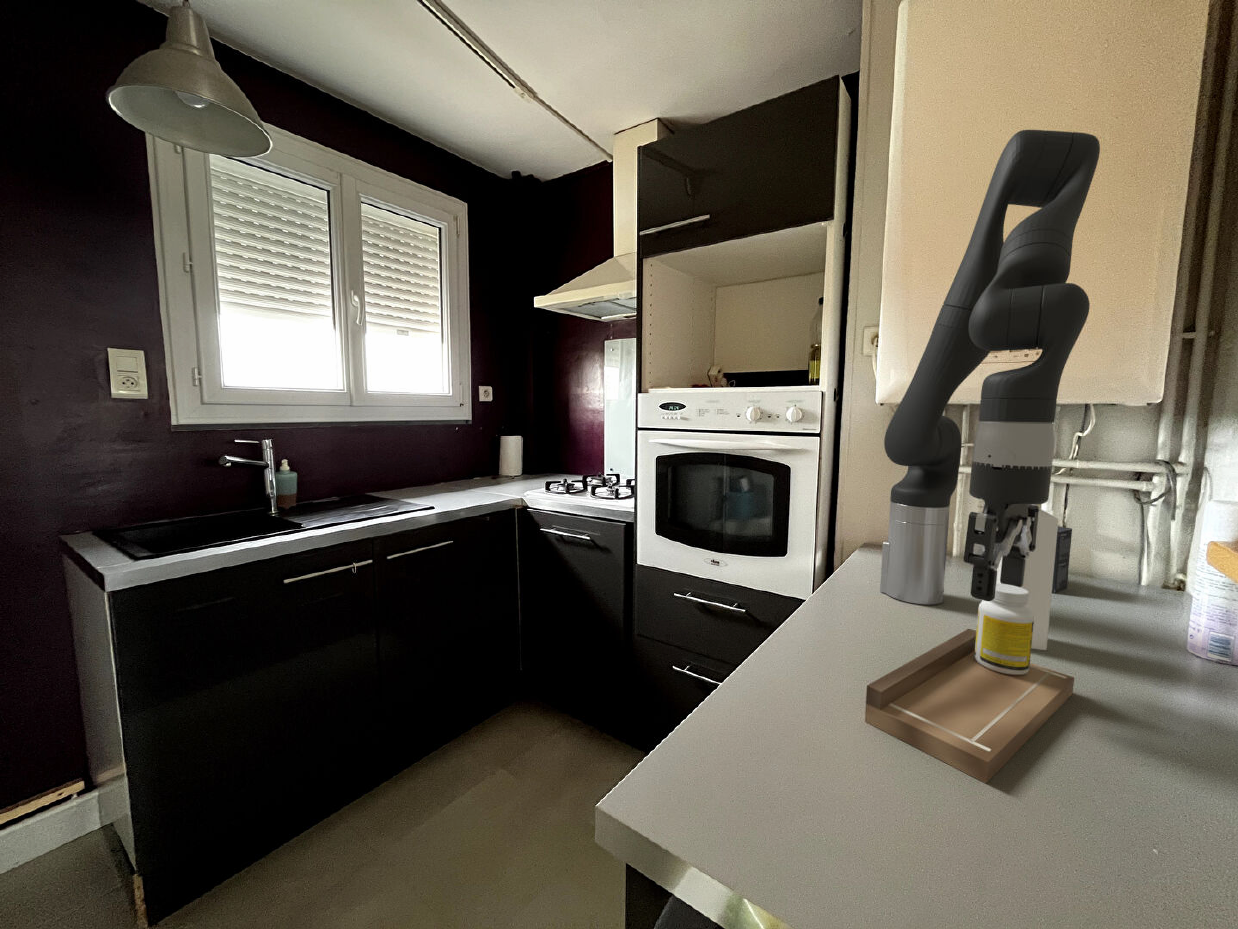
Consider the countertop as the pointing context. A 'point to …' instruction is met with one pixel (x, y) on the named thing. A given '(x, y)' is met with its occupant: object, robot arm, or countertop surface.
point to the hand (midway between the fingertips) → (997, 592)
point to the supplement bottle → (1005, 631)
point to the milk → (1040, 577)
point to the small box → (1061, 559)
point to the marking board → (964, 706)
